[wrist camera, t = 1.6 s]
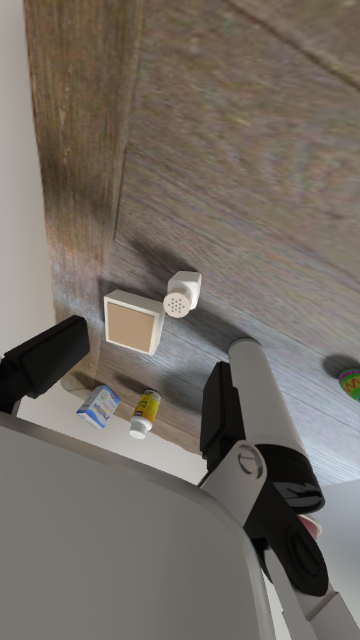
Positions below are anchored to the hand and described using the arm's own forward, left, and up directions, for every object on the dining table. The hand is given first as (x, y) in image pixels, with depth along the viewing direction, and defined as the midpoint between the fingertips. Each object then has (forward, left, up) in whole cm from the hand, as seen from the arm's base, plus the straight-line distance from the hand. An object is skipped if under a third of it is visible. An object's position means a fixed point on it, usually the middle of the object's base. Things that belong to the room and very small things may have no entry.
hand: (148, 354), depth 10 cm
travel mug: (+10, +14, -18) cm, 24 cm away
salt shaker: (0, 0, -18) cm, 18 cm away
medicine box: (+42, -16, -18) cm, 48 cm away
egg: (+8, +33, -18) cm, 38 cm away
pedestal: (+10, -8, -17) cm, 21 cm away
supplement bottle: (+35, -2, -18) cm, 39 cm away
